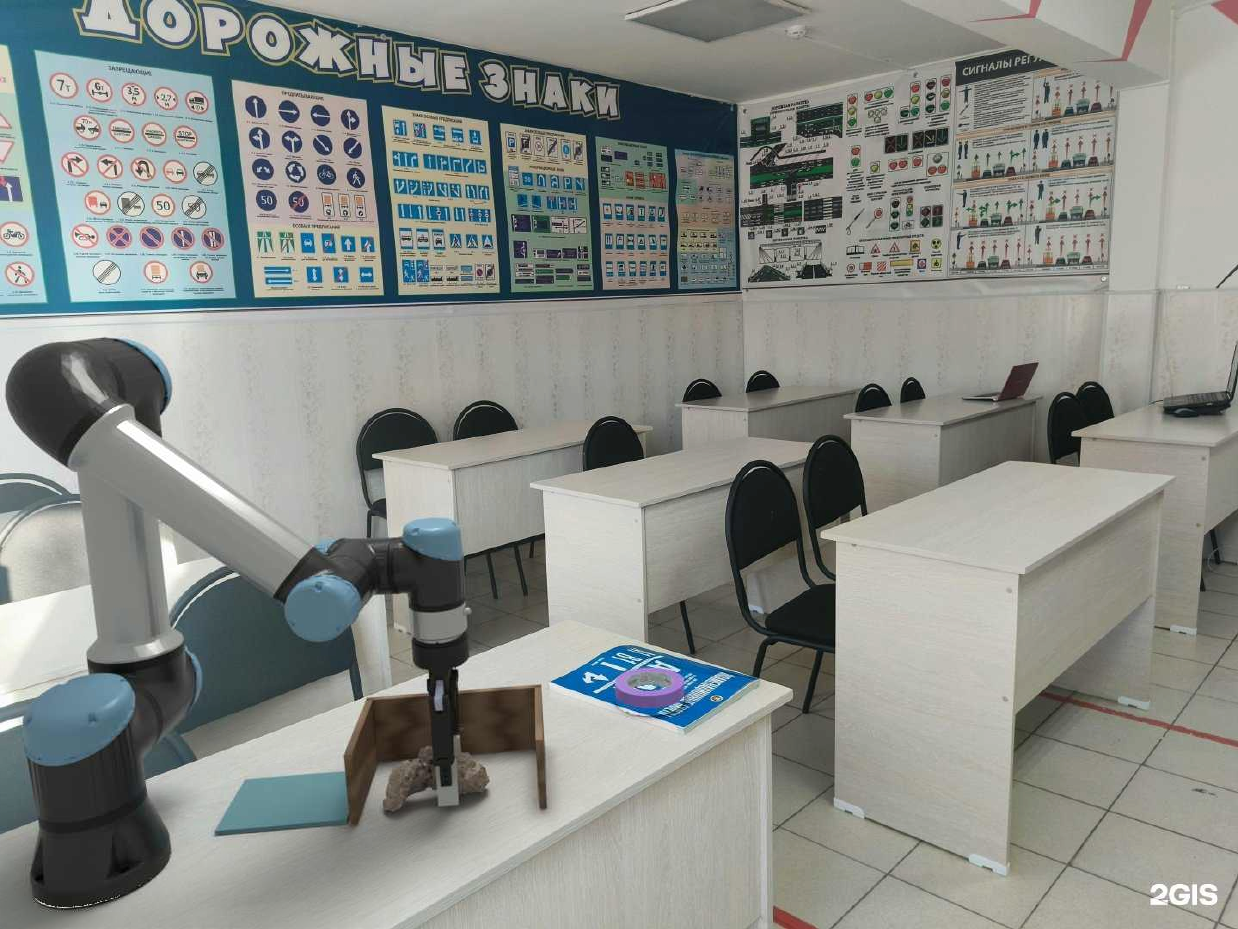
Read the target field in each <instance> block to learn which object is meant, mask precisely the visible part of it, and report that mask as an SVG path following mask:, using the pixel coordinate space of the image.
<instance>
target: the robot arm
mask: <svg viewBox="0 0 1238 929" xmlns="http://www.w3.org/2000/svg"><path fill="white" fill-rule="evenodd" d="M170 374H171V373H170V372H169V370H168V367H167V365H166V364H165V362H164V361H163V360H162V359H161V358H160V357H159V355H158V354H157V353H155V352H154V351H153V350H152V349H150V348H149V347H148V346H146V345H144V344H142V343H140V342H138V341H135V340H132V339H126V338H119V337H118V338H116V337H107V336H104V337H95V338H88V339H80V340H72V341H57V342H55V341H54V342H48V343H43V344H41V345H38V346H36V347H34V348H32V349H30V350H29V351H27V352H25V353H24V354H23V355H22V356H21V357H20V358H18V359H17V360H16V362H15V363H14V364H13V366H11V369H10V371H9V373H8V376H7V379H6V382H5V393H4V394H5V401H6V402H5V403H6V407H7V409H8V412H9V413H10V416H11V417H12V419H13V421H14V424H16V426H17V427H18V428H19V429H20V431H21V432H22V433H23V434H24V435H25V436H26V438H28V439H29V440H30V441H31V442H32V443H33V444H34V445H35V446H37V448H39V449H41V450H42V451H43V452H45V454H47V456H49V457H51V458H52V459H53V460H55V461H56V462H58V463H59V464H61V465H63V466H64V468H65V467H66V468H67V469H68V470H70V471H71V472H73V473H77V483H78V491H79V498H80V506H81V507H80V508H81V513H82V514H81V515H82V522H83V530H84V537H85V538H84V539H85V540H84V541H85V547H86V554H87V561H88V562H87V563H88V571H89V577H90V586H91V595H92V603H93V604H92V605H93V611H94V618H95V626H96V627H95V628H96V635H97V637H96V640H95V641H94V642H93V643H92V644H91V645H90V646H89V647H88V649H86V653H85V655H86V661H87V662H86V664H87V669H88V670H87V671H88V674H86V675H81V676H78V677H74V678H71V679H68V680H67V681H66V682H65V683H63V684H57V685H54V686H52V687H50V688H49V689H47V690H44V692H42V693H41V694H40V695H38V696H37V697H36V698H35V699H33V701H32V702H31V703H30V704H29V705H28V707H27V708H26V710H25V712H24V714H23V717H22V733H23V735H22V736H23V737H22V748H23V750H24V754H25V756H26V761H27V766H28V771H29V777H30V782H31V788H32V794H33V800H34V806H35V811H36V817H37V820H38V833H37V834H38V835H37V837H36V844H35V849H34V853H33V857H32V862H31V867H30V871H29V881H30V886H31V887H30V888H31V893H33V894H32V897H33V896H34V897H35V898H36V899H37V900H38V901H40V902H42V903H45V904H46V905H51V906H55V907H57V906H58V907H73V906H74V907H75V906H84V905H87V904H88V905H89V904H95V903H97V902H100V901H105V900H109V901H111V900H110V899H111V898H115V897H117V896H119V895H122V896H124V895H126V894H128V893H130V892H132V891H134V890H136V889H137V888H136V887H138V886H139V885H141V884H143V883H144V884H146V883H147V882H149V881H150V880H151V879H152V878H151V877H153V878H154V877H156V875H157V874H156V873H158V872H159V871H160V870H161V869H162V870H163V868H164V867H165V866H166V865H167V863H168V862H169V860H170V858H171V856H172V844H171V843H172V842H171V837H170V836H171V835H170V832H169V828H167V826H166V825H165V823H164V821H163V820H162V817H161V815H160V814H159V813H158V811H157V809H156V808H155V806H154V804H153V803H152V801H151V799H150V798H149V795H148V789H147V782H146V775H145V769H144V762H143V761H144V757H146V756H147V755H148V754H149V752H150V751H151V750H152V749H153V748H154V747H156V746H157V744H158V743H159V742H160V741H161V740H162V739H164V738H165V737H166V736H167V735H168V734H169V733H170V732H171V731H172V730H173V729H174V728H175V727H176V726H178V725H179V724H180V723H181V722H182V721H183V720H184V719H185V718H186V717H187V715H189V713H190V712H191V710H192V708H193V706H194V705H195V704H196V702H197V701H198V699H199V696H200V693H201V690H202V685H203V673H202V672H203V671H202V668H201V664H200V662H199V660H198V658H197V656H196V654H195V653H193V652H192V653H191V652H190V650H189V648H188V647H187V646H186V645H185V639H184V635H183V633H182V632H181V631H179V630H177V629H175V628H174V627H173V626H171V623H170V622H171V621H170V617H169V606H168V596H167V588H166V578H165V568H164V560H163V552H162V551H163V550H162V543H161V533H160V526H159V521H160V522H162V523H163V524H165V525H166V526H167V527H169V528H170V529H172V530H173V531H175V532H176V533H177V534H179V535H180V536H182V537H184V538H185V539H186V540H187V541H189V542H191V543H192V544H194V545H195V546H197V547H198V548H199V549H201V550H202V551H204V552H205V553H207V554H208V555H210V556H211V557H213V558H214V559H216V560H217V561H219V562H220V563H221V564H223V566H226V567H227V568H228V569H230V570H231V571H233V572H234V573H236V574H237V575H238V576H240V577H242V578H243V579H244V580H246V581H248V582H249V583H250V584H252V585H253V586H254V587H256V588H258V589H259V590H260V591H261V592H262V593H263V592H264V593H265V594H266V595H267V596H269V597H270V598H272V600H274V601H276V602H277V603H278V604H279V605H280V606H282V607H284V616H285V620H286V621H287V624H288V625H289V627H290V629H291V630H292V631H293V632H292V633H294V634H295V635H297V636H298V637H300V638H302V639H304V640H306V641H311V642H315V643H320V642H321V643H322V642H327V641H331V640H334V639H336V638H337V637H339V636H340V635H342V633H343V632H345V631H346V629H348V628H349V627H350V626H352V625H353V624H354V623H355V622H356V620H357V619H358V618H359V615H360V613H361V611H362V610H363V609H364V607H365V606H366V605H367V604H368V603H369V601H371V599H372V598H373V596H382V595H384V596H387V595H401V594H406V595H407V598H408V601H407V602H408V605H407V606H408V620H409V621H408V622H409V631H410V632H409V633H410V635H411V636H412V638H411V651H412V652H411V654H412V655H411V656H412V663H413V665H415V667H417V668H418V669H421V670H425V671H427V672H428V678H426V691H427V693H429V697H428V698H429V699H428V703H429V709H430V719H431V735H432V750H433V759H430V761H429V764H430V765H432V764H433V766H434V767H436V781H437V790H436V792H437V806H438V807H450V806H459V804H460V798H459V796H460V795H459V794H458V780H457V765H456V758H455V756H454V753H459V752H460V751H461V748H460V735H456V733H464V725H463V726H459V724H458V723H459V721H460V716H459V705H458V691H459V677H460V675H459V669H457V668H458V667H460V666H462V665H463V664H465V663H467V661H468V660H469V658H470V644H469V643H470V642H469V633H468V632H467V631H466V630H467V629H468V619H467V618H468V617H467V616H469V615H471V614H472V609H471V608H470V607H466V604H467V603H466V600H467V599H466V583H465V582H466V581H465V580H466V579H465V562H464V560H465V558H464V557H465V552H464V550H463V545H462V544H463V542H462V535H461V529H460V526H459V524H458V523H457V522H456V521H455V520H452V519H451V518H447V517H427V518H418V519H416V520H411V521H408V523H406V524H405V525H404V526H403V529H402V534H401V535H400V536H397V537H396V536H395V537H361V538H356V537H355V538H349V537H339V538H338V537H337V539H336V538H335V539H326V540H325V539H323V540H320V541H319V542H317V543H316V544H315V545H314V546H313V545H312V544H311V543H310V542H308V541H307V540H305V538H303V537H301V536H300V535H299V534H297V533H295V532H294V531H293V530H292V529H290V528H289V527H287V526H286V525H284V524H283V523H281V522H280V521H279V520H277V519H276V518H275V517H274V516H271V515H270V514H269V513H267V512H266V511H264V510H263V509H262V508H261V507H259V506H258V505H256V504H255V503H254V502H252V501H251V500H249V499H248V498H246V497H245V496H244V495H242V494H241V493H239V492H238V491H237V490H235V489H234V488H232V487H231V486H230V485H228V484H226V482H224V481H223V480H221V479H219V478H218V477H216V475H214V474H213V473H211V472H210V471H208V470H206V469H205V468H204V467H203V466H201V465H200V463H199V464H198V463H197V462H196V461H195V460H193V459H192V458H190V457H188V456H187V455H186V454H184V453H183V452H182V451H180V450H179V449H177V448H176V447H175V446H174V445H172V444H170V443H169V442H168V441H166V440H165V439H163V433H162V422H161V421H162V420H161V416H162V415H163V413H164V412H165V411H166V409H167V408H168V406H169V404H170V402H171V399H172V395H173V382H172V377H171V375H170ZM170 855H171V856H170ZM162 870H161V871H162ZM161 871H160V872H161ZM160 872H159V873H160ZM159 873H158V874H159ZM150 878H151V879H150ZM149 879H150V880H149ZM148 880H149V881H148ZM145 882H146V883H145ZM144 884H143V885H144ZM141 886H142V885H141ZM138 888H139V887H138ZM133 889H134V890H133ZM131 890H132V891H131ZM129 891H130V892H129ZM127 892H128V893H127ZM123 894H124V895H123ZM34 897H33V898H34ZM117 898H118V897H117ZM115 899H116V898H115Z"/></svg>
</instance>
